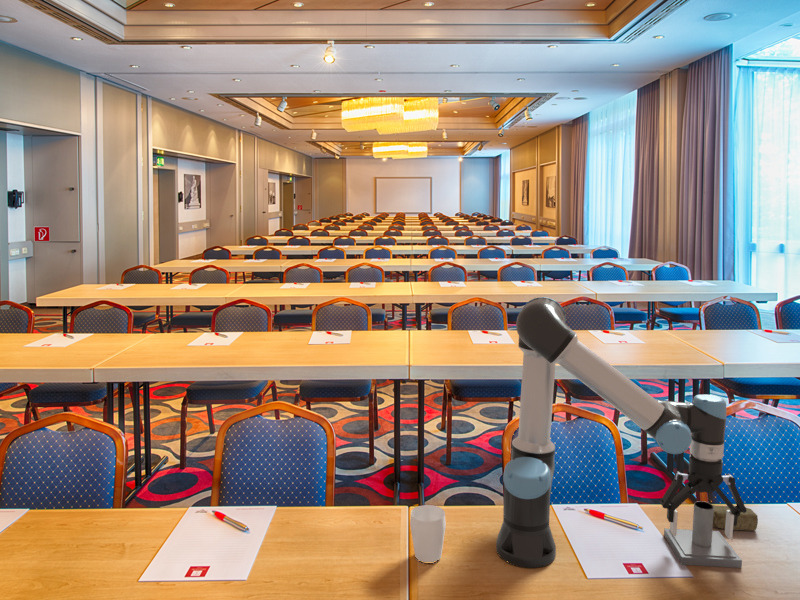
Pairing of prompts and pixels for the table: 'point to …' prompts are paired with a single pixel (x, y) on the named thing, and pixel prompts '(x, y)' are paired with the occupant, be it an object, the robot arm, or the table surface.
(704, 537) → the grey tube
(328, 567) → the table surface
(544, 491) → the robot arm
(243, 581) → the table surface
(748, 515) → the stone block
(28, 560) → the table surface
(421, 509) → the cup
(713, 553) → the kitchen scale
